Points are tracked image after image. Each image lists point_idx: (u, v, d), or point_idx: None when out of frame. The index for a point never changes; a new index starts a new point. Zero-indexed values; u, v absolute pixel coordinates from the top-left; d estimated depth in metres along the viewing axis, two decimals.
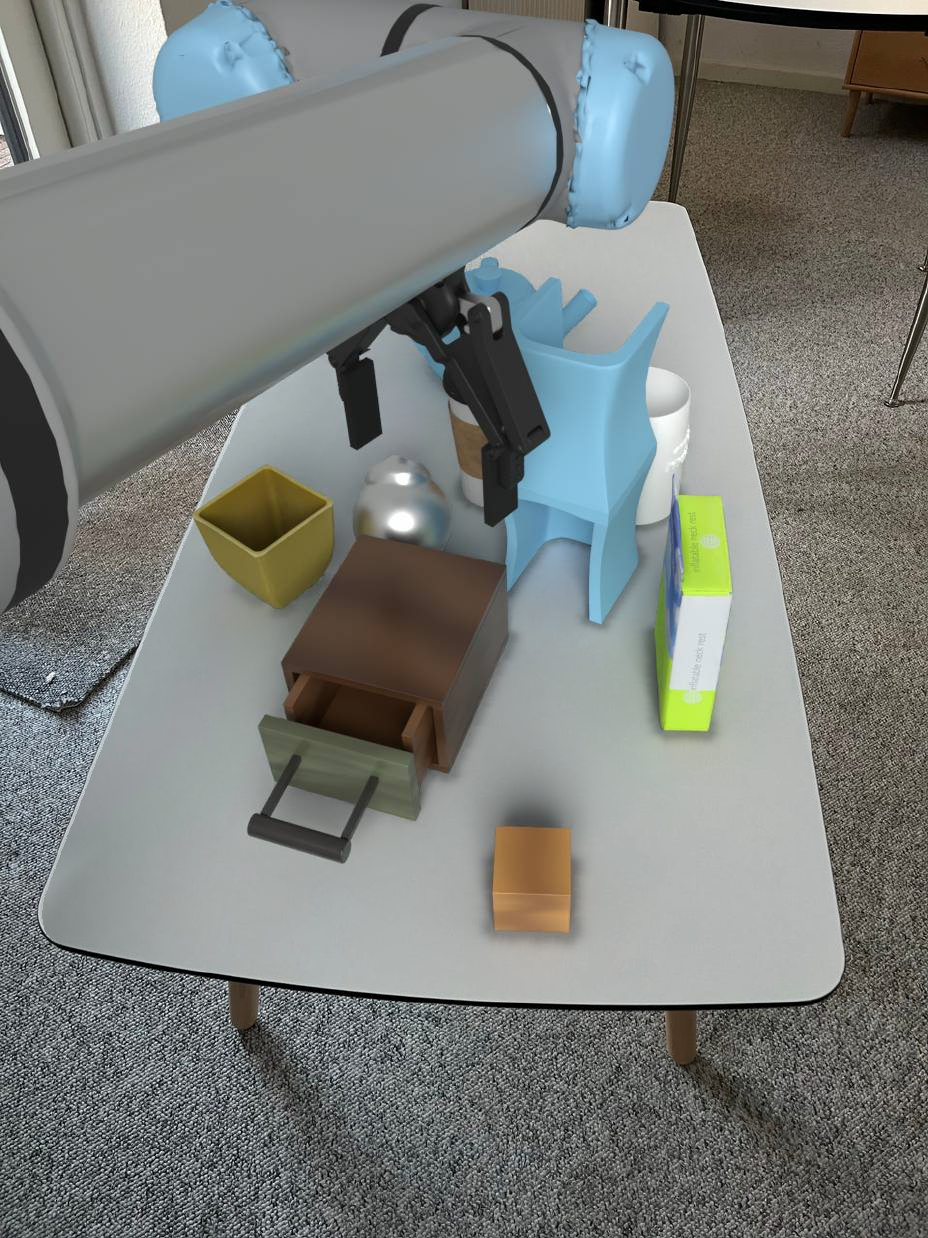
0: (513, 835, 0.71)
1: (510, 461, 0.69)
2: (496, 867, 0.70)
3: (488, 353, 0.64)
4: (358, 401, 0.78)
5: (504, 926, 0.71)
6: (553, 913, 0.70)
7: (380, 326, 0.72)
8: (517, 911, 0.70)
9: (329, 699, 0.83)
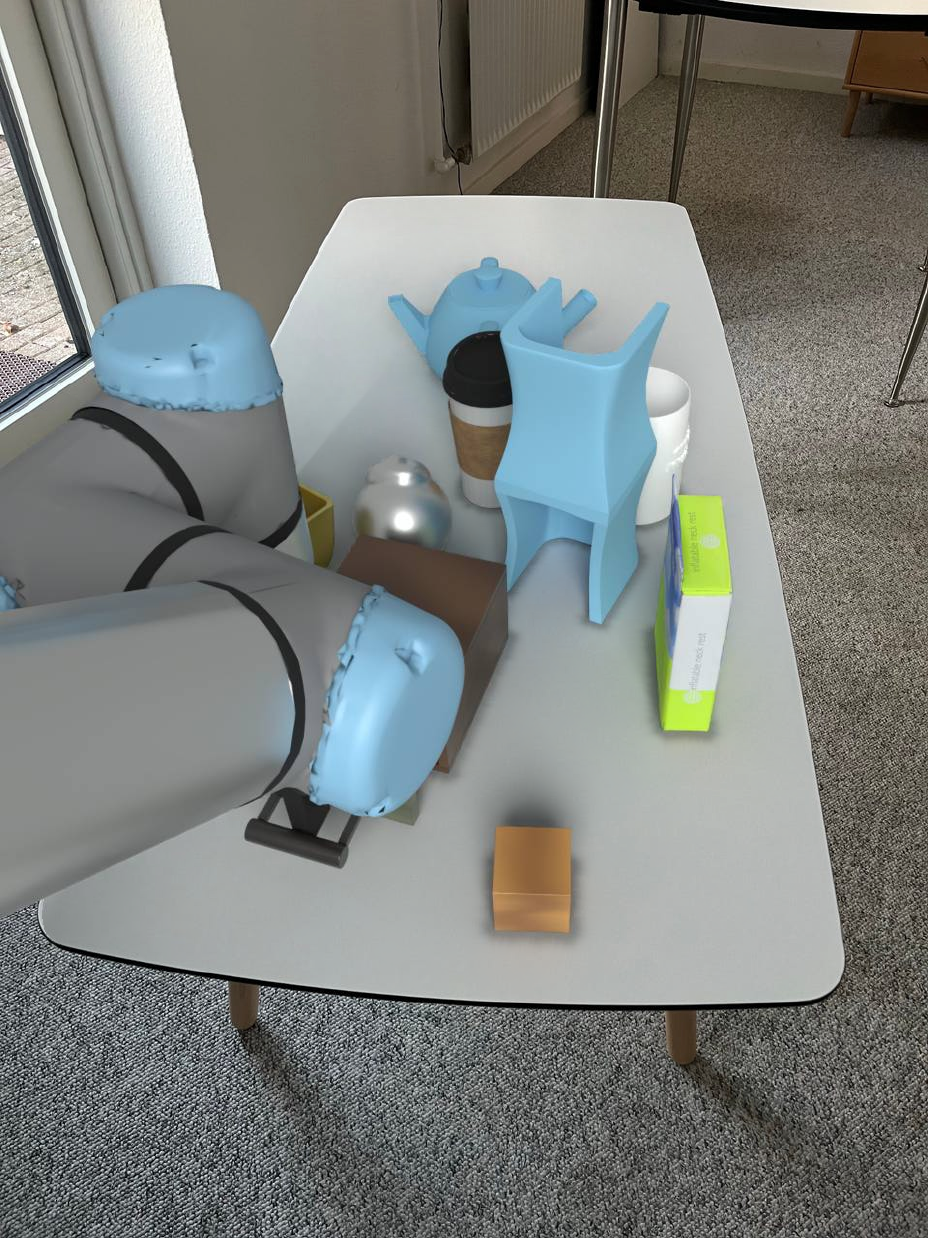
0: (513, 835, 0.71)
1: None
2: (496, 867, 0.70)
3: None
4: None
5: (504, 926, 0.71)
6: (553, 913, 0.70)
7: None
8: (517, 911, 0.70)
9: None
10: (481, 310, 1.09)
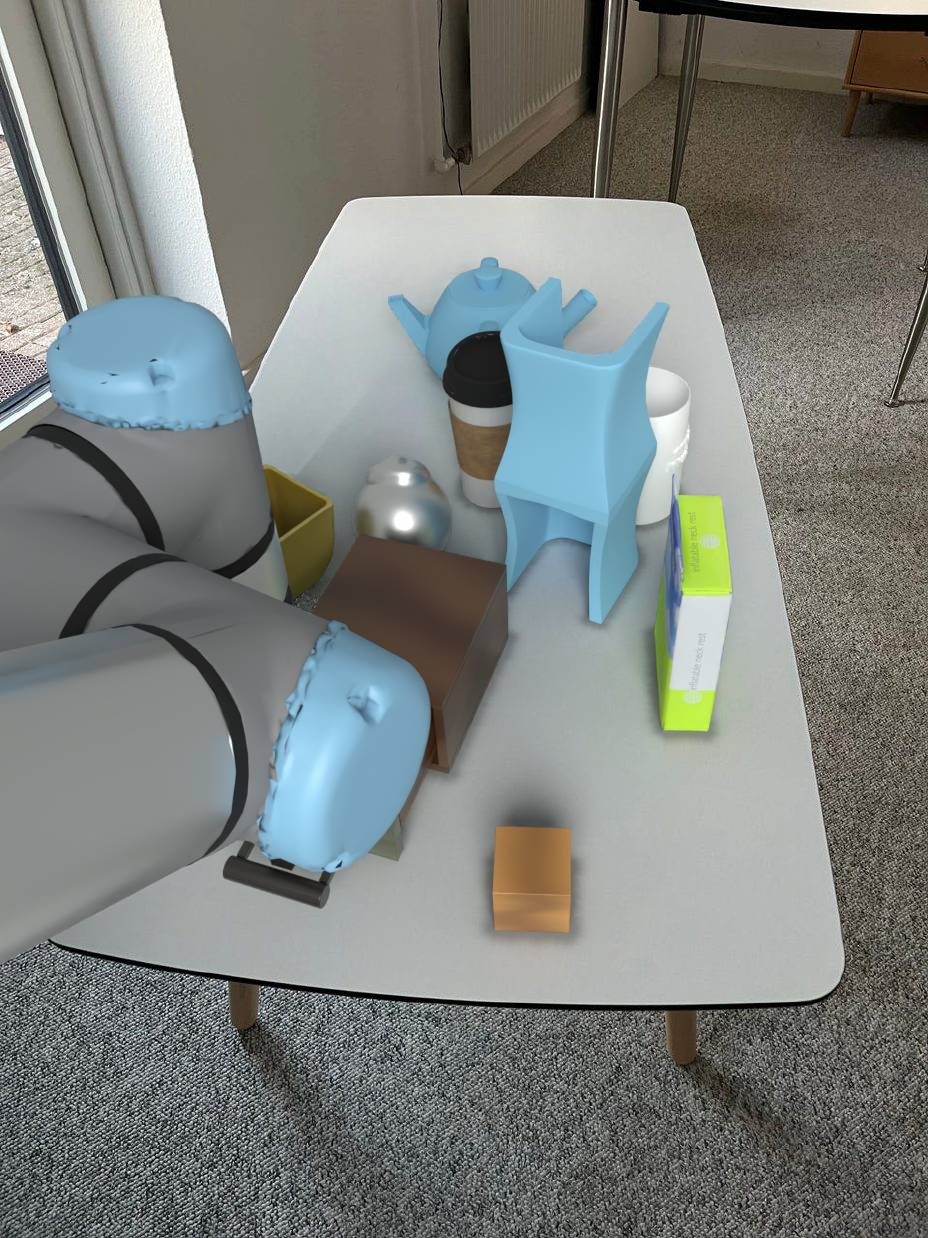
0: (513, 835, 0.71)
1: None
2: (496, 867, 0.70)
3: None
4: None
5: (504, 926, 0.71)
6: (553, 913, 0.70)
7: None
8: (517, 911, 0.70)
9: None
10: (480, 310, 1.09)
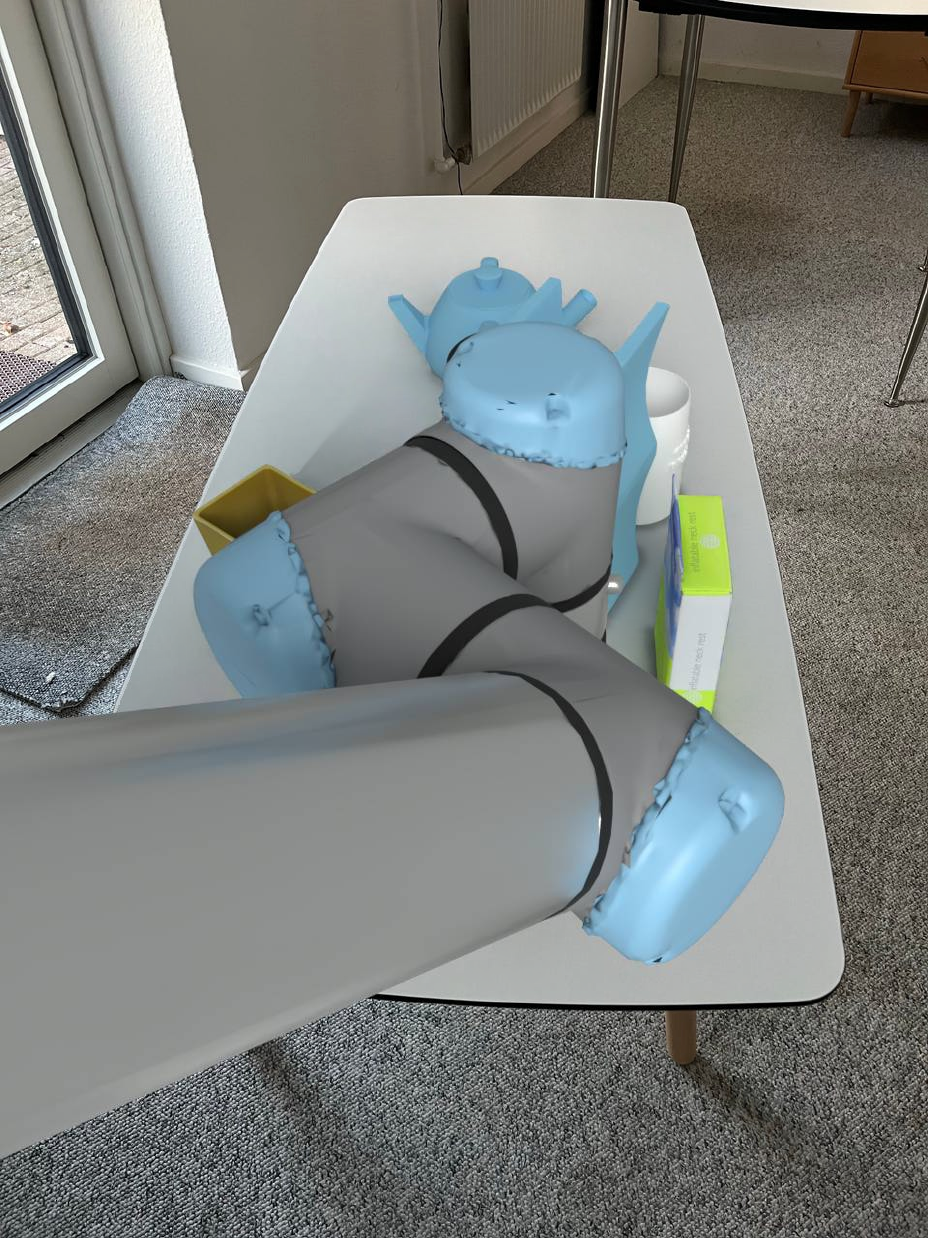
0: None
1: None
2: None
3: None
4: None
5: None
6: None
7: None
8: None
9: None
10: (481, 310, 1.09)
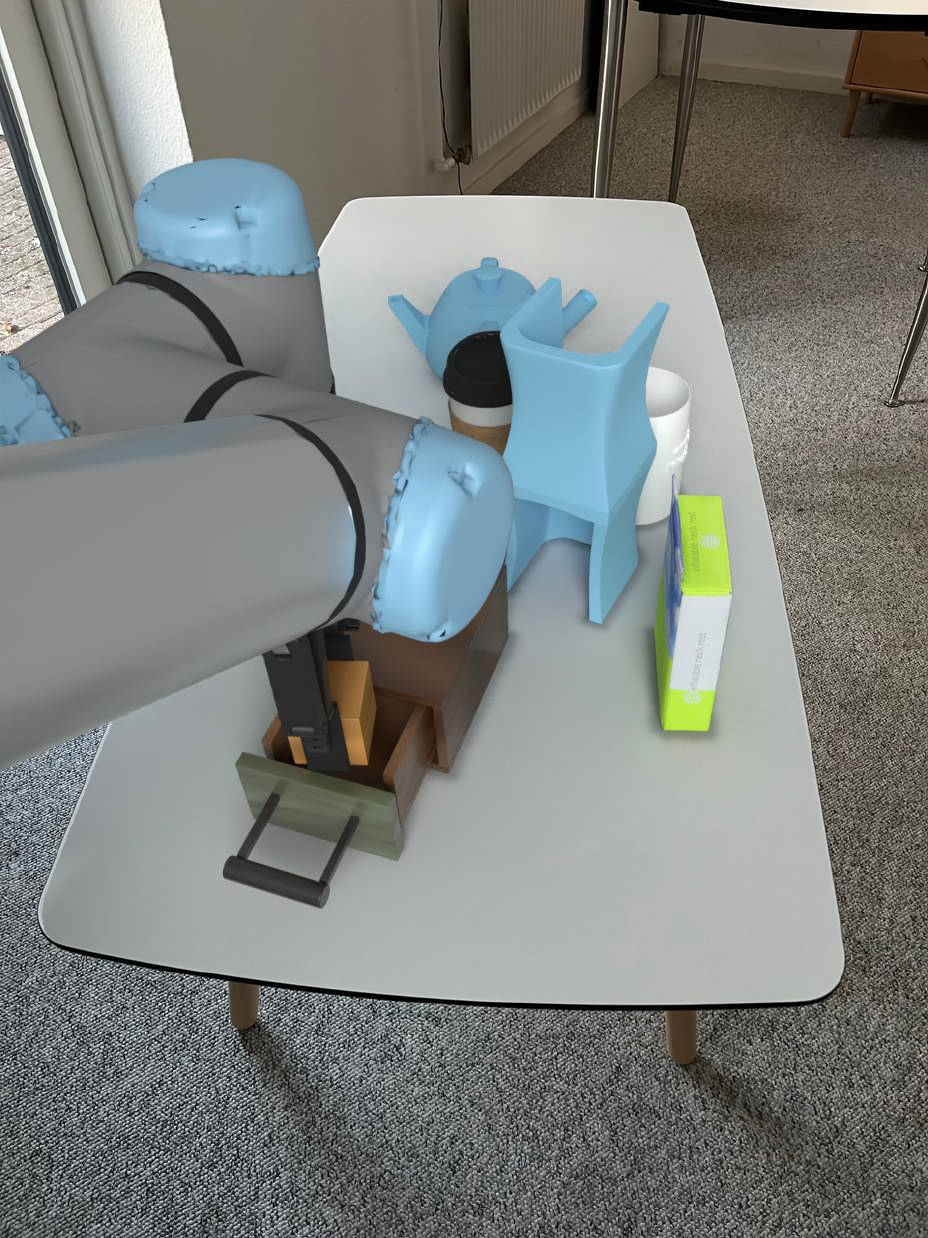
0: None
1: None
2: None
3: (265, 663, 0.60)
4: None
5: (303, 758, 0.72)
6: (347, 741, 0.70)
7: None
8: None
9: None
10: (481, 309, 1.09)
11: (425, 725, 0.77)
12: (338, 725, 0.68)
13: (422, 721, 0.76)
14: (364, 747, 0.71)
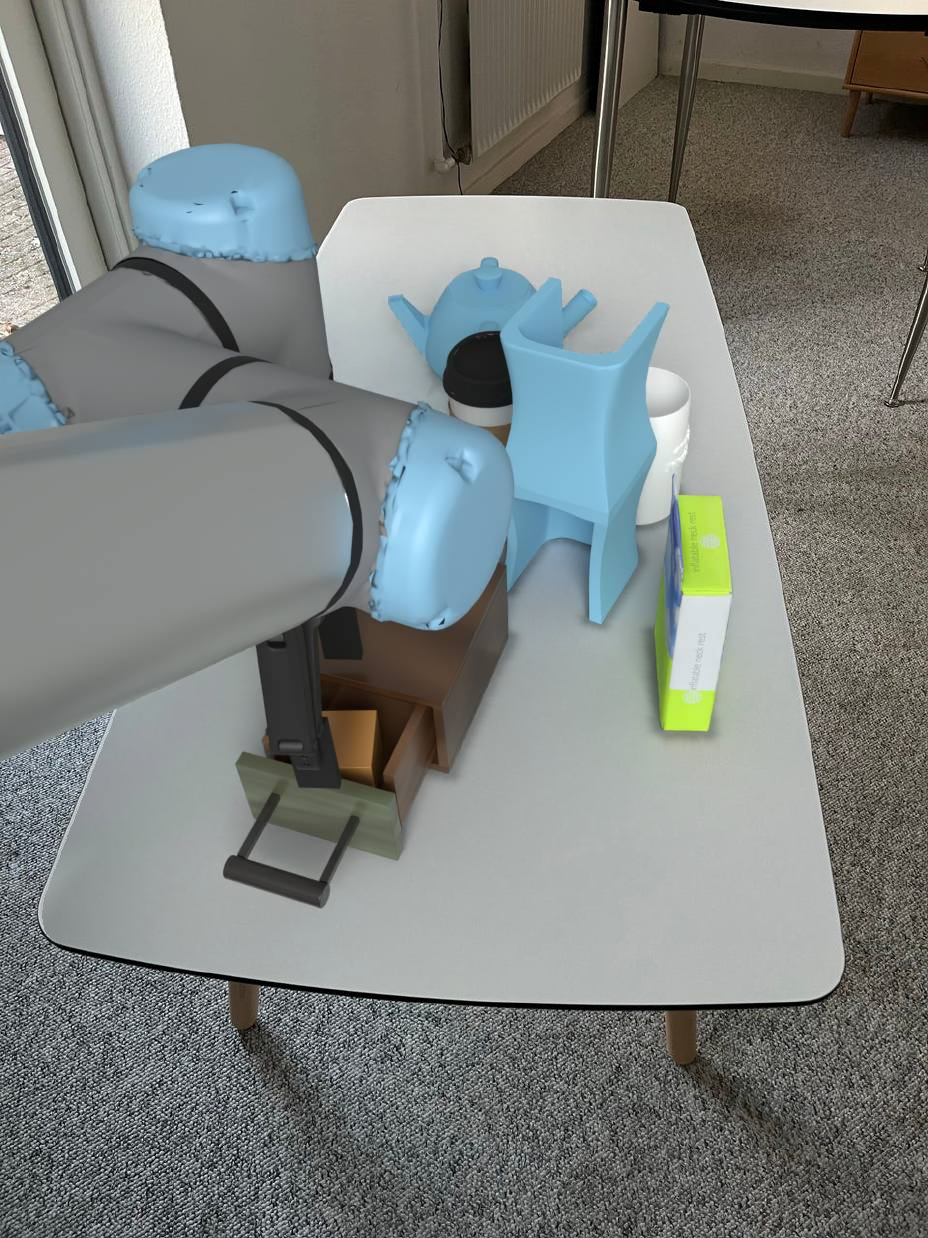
0: None
1: None
2: None
3: (257, 654, 0.58)
4: (327, 621, 0.73)
5: None
6: None
7: None
8: None
9: None
10: (480, 310, 1.09)
11: (426, 724, 0.77)
12: (328, 741, 0.65)
13: (422, 720, 0.76)
14: None
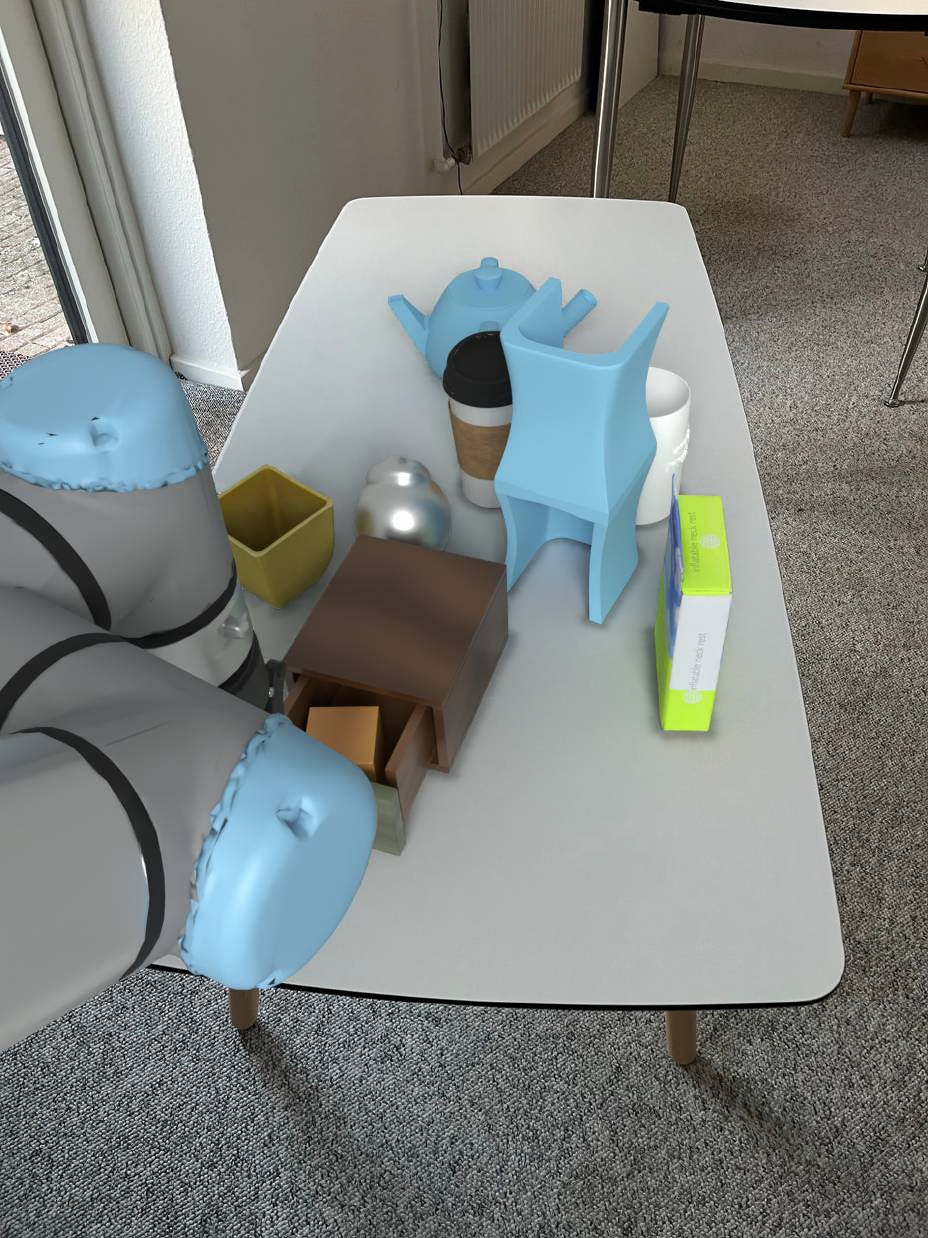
0: (325, 714, 0.76)
1: None
2: None
3: None
4: None
5: None
6: None
7: None
8: None
9: None
10: (480, 310, 1.09)
11: (427, 720, 0.77)
12: None
13: (424, 717, 0.76)
14: None
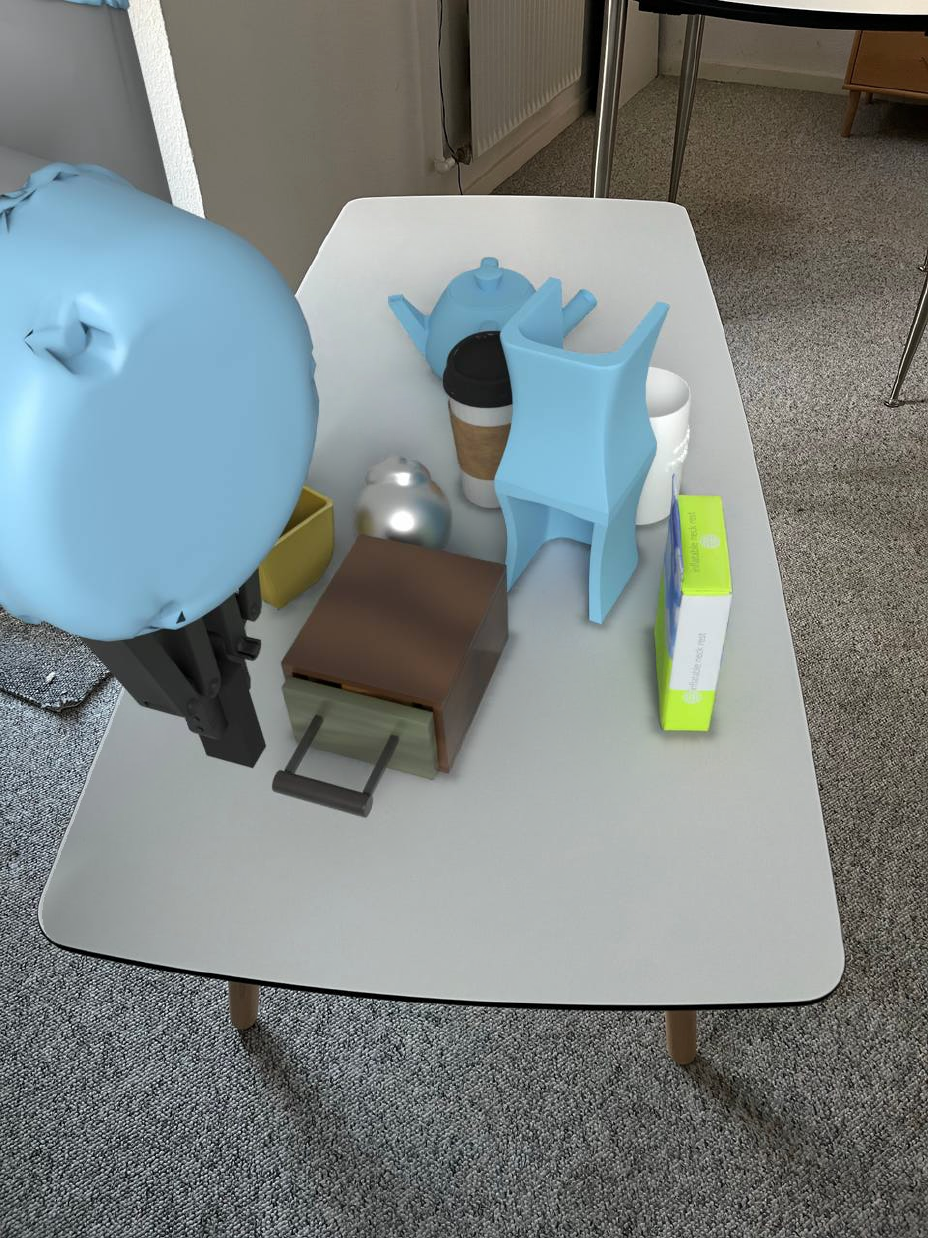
0: None
1: None
2: None
3: None
4: None
5: None
6: None
7: None
8: None
9: None
10: (481, 310, 1.09)
11: None
12: (233, 706, 0.51)
13: None
14: None
